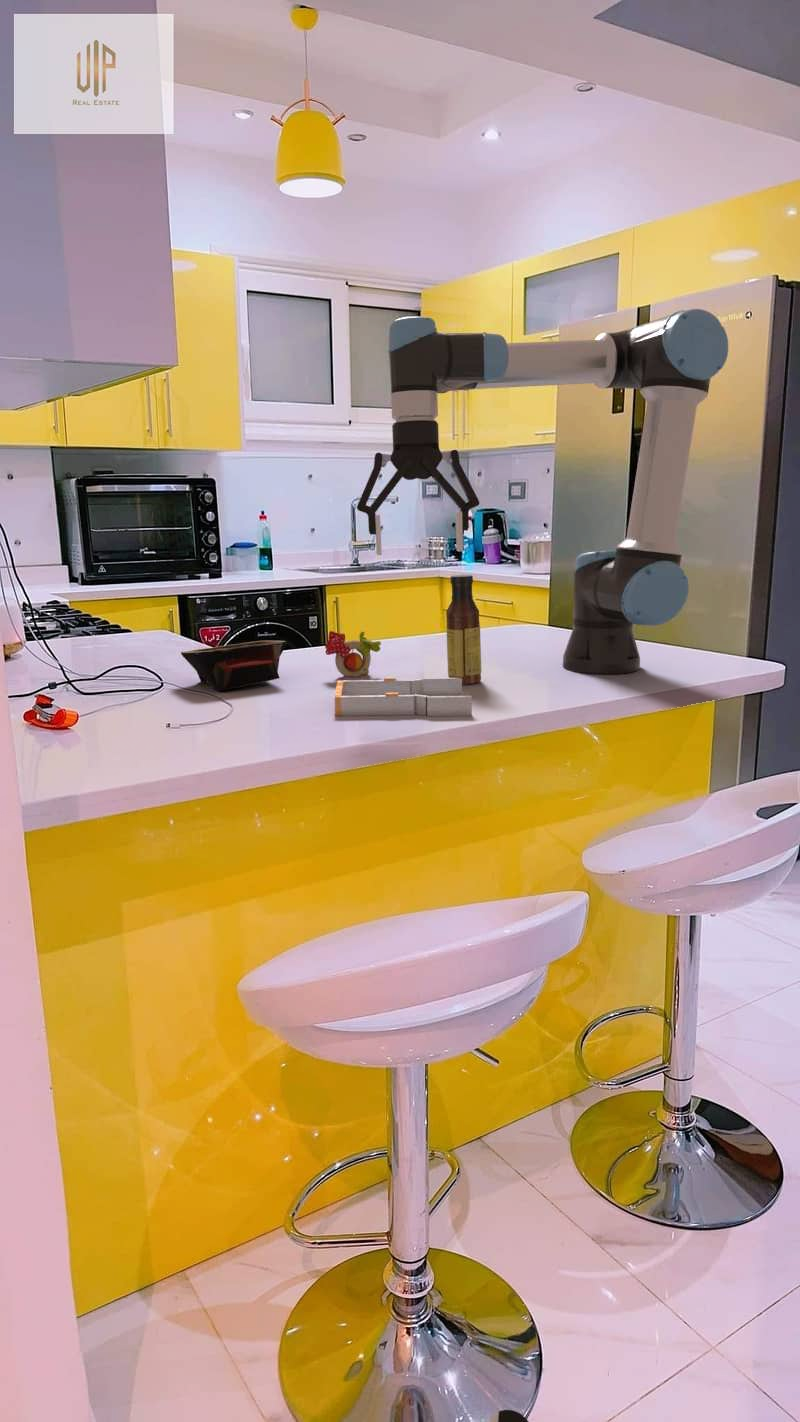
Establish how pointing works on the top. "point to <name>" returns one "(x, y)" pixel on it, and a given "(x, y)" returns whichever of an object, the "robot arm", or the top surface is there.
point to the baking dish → (237, 663)
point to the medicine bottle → (508, 1416)
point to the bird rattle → (351, 661)
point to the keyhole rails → (402, 697)
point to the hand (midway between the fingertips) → (419, 553)
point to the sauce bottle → (463, 632)
